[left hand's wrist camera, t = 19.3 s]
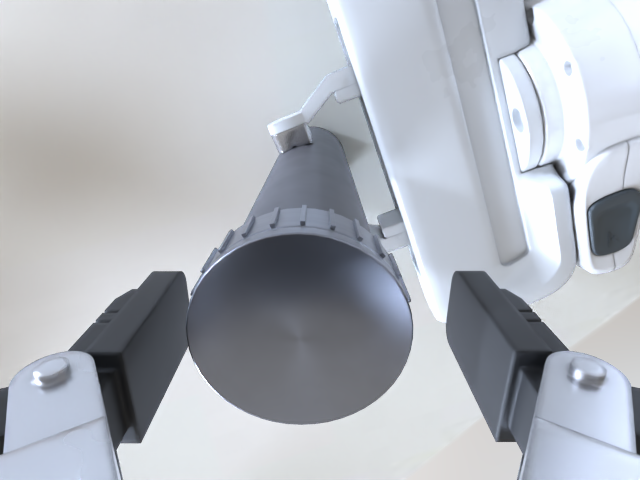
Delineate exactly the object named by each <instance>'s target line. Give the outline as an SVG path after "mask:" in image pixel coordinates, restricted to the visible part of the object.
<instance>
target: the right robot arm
mask: <svg viewBox="0 0 640 480" xmlns="http://www.w3.org/2000/svg"><path fill="white" fill-rule="evenodd" d="M327 3H328V6H329V9H330V12H331V15H332V18H333V21H334V24H335V27H336V30H337V33H338V36H339V39H340V42H341V46H342V49H343V52H344V55H345V58H346V61H347V64H348V66H346V67H344V68H342V69H339V70H337V71H335V72H332V73H330V74H327V75H326V76H325V77H324V79H323V80H322V81H321V82H320V84H319V85H318V86H317V88H316V89H315V90H314V92H313V93H312V94H311V96H310V97H309V98H308V100H307V101H306V102H305V104H304V105H303V106H302V108H301V109H300V111H298V112H295V113H293V114H290V115H288V116H285V117H283V118H280V119H278V120H276V121H274V122H272V123H270V124H269V125H267V127H268V129H269V132H270V134H271V136H272V139H273V141H274V143H275V145H276V148H277V150H278V152H279V154H282V153H285V152H288V151H290V150H291V149H292V148H293V146H298V147H300V146H303V145H306V144H308V143H311V142H312V138H313V137H312V134H311V131H310V128H309V126H308V124H309V122H310V121H311V120H312V118H313V117H314V116H315V115H316V113H317V112H318V111H319V109H320V108H321V107H322V106H323V104H324V103H325V102H326V101H327V99H328V98H329V97H330V95H331V94H332V93H333V94H334V97H335V100H336V101H337V102H338V103H340V104H341V103H343V102H346V101H348V100H351V99H354V98H356V97H359V100H360V103H361V106H362V109H363V112H364V115H365V118H366V121H367V124H368V127H369V130H370V133H371V136H372V139H373V142H374V145H375V148H376V151H377V154H378V157H379V160H380V163H381V166H382V169H383V172H384V175H385V178H386V181H387V184H388V187H389V190H390V193H391V196H392V199H393V202H394V205H395V208H396V209H394V210H392V211H389V212H386V213H384V214H381V215H378V217H377V219H378V222H379V224H380V225H379V226H378V225H370V224H368V226H369V229H370V232H371V234H372V235H373V236H374V235H375V234H377V235H378V236H379V238H380V241H381V244H382V246H383V247H384V249H385V250H386V251H387V252H390V251H393V250H396V249H399V248H402V247H405V246H408V248H409V251H410V254H411V257H412V260H413V263H414V266H415V269H416V272H417V275H418V278H419V281H420V284H421V287H422V290H423V293H424V295H425V298H426V300H427V302H428V304H429V307H430V309H431V311H432V312H433V314H434V316H435V318H436V319H437V320H438V321H441V322H444V323H446V318H447V311H448V303H449V296H450V288H451V281H452V276H453V274H454V272H455V271H485V272H486V273H487V274H488V275H489V276H490V278H491V279H492V280H493V281H494V282H495V284H496V285H497V286H498V287H499V288H500V289H507V290H508V291H510V292H512V293H513V294H515V295H517V296H519V297H520V298H522V299H523V300H524V301H525V302H526V303H527V305H529V304H531V303H534V302H536V301H538V300H541V299H543V298H545V297H547V296H549V295H551V294H552V293H554V292H555V291H557V290H558V289H560V288H561V287H562V286H563V285H564V284H565V283H566V282H567V281H568V280H569V278H570V277H571V275H572V274H573V272H574V269H575V266H576V265H577V266H579V267H581V268H583V269H585V270H586V271H588V272H590V273H593V274H603V273H607V272H611V271H614V270H617V269H619V268H621V267H623V266H624V265H626V264H627V263H628V262H629V260H630V259H631V257H632V255H633V252H634V249H635V245H636V241H637V237H638V233H639V229H640V0H327Z"/></svg>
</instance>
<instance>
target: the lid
mask: <svg viewBox="0 0 640 480" xmlns="http://www.w3.org/2000/svg"><path fill="white" fill-rule="evenodd" d="M201 272H202V274H201V276H200V278H199V280H198V281H197V283H196V285H195V286H194V288H193V290H192V291H191V295H192V297H191V299H190V303H189V307H188V311H187V319H186V335H187V341H188V346H189V351H190V353H191V356H192V359H193V361H194V363H195V365H196V367H197V369H198V371H199V372H200V374H201V375H202V377H203V378H204V379H205V381H206V382H207V384H208V385H209V386H210V387H211V388H212V389H213V390H214V391H215V392H216V393H217V394H218V395H220V396H221V397H222V398H223V399H225V400H226V401H227V402H229V403H230V404H232V405H233V406H235V407H236V408H238V409H240V410H242V411H244V412H246V413H248V414H251V415H253V416H256V417H259V418H261V419H265V420H269V421H273V422H278V423H285V424H299V425H304V424H318V423H324V422H330V421H334V420H337V419H341V418H344V417H346V416H349V415H352V414H354V413H356V412H358V411H360V410H362V409H364V408H366V407H367V406H369V405H370V404H372V403H373V402H375V401H376V400H377V399H378V398H380V397H381V396H382V395H383V394H384V393H385V392H386V391H387V390H388V389H389V388H390V387H391V386H392V385H393V384H394V382H395V381H396V379H397V378H398V377H399V375H400V374H401V372H402V370H403V368H404V366H405V364H406V362H407V359H408V356H409V353H410V350H411V345H412V339H413V321H412V313H411V309H410V306H409V303H408V302H411V299H410V296H409V294H408V291H407V289H406V286H405V284H404V281H403V279H402V276H401V273H400V271H399V269H398V266H397V264H396V261H395V259H394V257H393V255H392V253H390V254H389V255H388V253H387V252H386V250H385V249H384V247H383V246H382V244H381V241H380V238H379V236H378V235H377V234H375V235H374V236H373V235H372V234H371V233H369V232H368V231H367V230H366V229H365V228H363V227H362V226H360V224H359V221H358V220H357V219H354V220H353V221H352V220H350V219H348V218H346V217H344V216H341V215H338V214H335V213H334V210H333V209H329V211H324V210H319V209H311V208H307V205H302V208H290V209H283V210H280V208H279V207H276V208H275V209H274V211H273V212H270V213H267V214H264V215H261V216H259V217H257V218H255V217H254V215H253V216H251V217H250V218H249V220H248V222H247V223H245V224H244V225H242V226H241V227H239V228H238V229H237V230H235V231H233V230H232V229H231V230H230V231H229V232H228V234H227V236H226V237H225V239H224V241H223V242H222V244H221V246H220V247H219V249H217V248H214V250H213V252H212V253H211V255H210V256H209V258H208V260H207V261H206V263H205V265H204V266H203V268H202V270H201Z"/></svg>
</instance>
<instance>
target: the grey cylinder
mask: <svg viewBox="0 0 640 480" xmlns="http://www.w3.org/2000/svg"><path fill="white" fill-rule="evenodd" d="M309 128H310V131H311V134H312V137H313V138H312V142H311V143H308V144H306V145H303V146H300V147H298V146H293V148H292V149H291V150H290V151H288V152H285V153H282V154H279V156H278V158H277V160H276V162H275V164H274V166H273V168H272V170H271V172H270V174H269V176H268V178H267V180H266V182H265V184H264V186H263V188H262V189H261V191H260V193H259V195H258V197H257V199H256V201H255V203H254V205H253V207H252V209H251V211H250V213H249V215H248V217H247V219H246V221H245V223H247V222H248V220H249V218H250V217H251V216H253V215H254V217H255V218H257V217H259V216H261V215H264V214H267V213H270V212H273V211H274V209H275V208H276V207H279V208H280V210H283V209H290V208H302V205H307V208H311V209H319V210H324V211H329V209H333V210H334V213H335V214H338V215H341V216H344V217H346V218H348V219H350V220H352V221H353V220H354V219H357V220H358V221H359V224H360V226H362V227H363V228H365V229H366V230H367V231H368V232H369V233H371V232H370V229H369V226H368V223H367V220H366V217H365V214H364V211H363V208H362V205H361V202H360V199H359V195H358V192H357V189H356V186H355V183H354V180H353V177H352V174H351V171H350V168H349V165H348V162H347V159H346V156H345V153H344V150H343V147H342V145H341V143H340V141H339V140H338V139H337V138H336V136H335V135H333V134H332V133H331V132H329V131H327V130H325V129H323V128H319V127H309ZM245 223H244V224H245Z"/></svg>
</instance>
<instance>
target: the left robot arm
mask: <svg viewBox="0 0 640 480" xmlns="http://www.w3.org/2000/svg"><path fill="white" fill-rule="evenodd" d="M188 307H189V298H188V290H187V283H186V278H185V275H184V273H183V272H182V271H154V272H152V273H151V274H150V275H149V276H148V278H147V279H146V280H145V281H144V282H143V283H142V285H141V286H140V287H139V288H138V289H132V290H130V291H128V292H127V293H125V294H123V295H122V296H120V297H118V298H116V299H115V300H114V301H113V302H112V303H111V304H110V306H109V307H108V308H107V309H106V310H105V313H102V314H101V315H100V316H99V318H98V319H97V320H96V323H93V324H92V325H91V326H90V327H89V328H88V329H87V331H86V332H85V333H84V334H83V335H82V336H81V337H80V338H79V339H78V340H77V341H76V343H75V344H74V345H73V346H72V347H71V348H70V349H69V350H68V351H66V352H60V353H56V354H52V355H49V356H46V357H43V358H41V359H38V360H36V361H34V362H32V363H31V364H29V365H27V366H26V367H24V368H23V369H22V370H20V371H19V372H18V373H17V374H16V375H15V376H14V377H13V379H12V380H11V382H10V384H9V387H6V388H2V389H0V480H123V477H122V472H121V468H120V463H119V459H118V455H117V451H116V450H117V448H118V446H119V444H120V443H141V442H142V440H143V438H144V436H145V434H146V432H147V429H148V427H149V425H150V423H151V421H152V419H153V417H154V415H155V413H156V411H157V409H158V407H159V405H160V403H161V401H162V399H163V397H164V395H165V393H166V391H167V389H168V386H169V384H170V382H171V380H172V378H173V376H174V374H175V372H176V370H177V368H178V366H179V364H180V362H181V360H182V358H183V356H184V354H185V352H186V350H187V348H188V341H187V335H186V319H187V311H188ZM446 334H447V339H448V343H449V345H450V347H451V349H452V351H453V354H454V356H455V358H456V360H457V362H458V364H459V366H460V368H461V370H462V372H463V374H464V376H465V378H466V381H467V383H468V385H469V387H470V389H471V391H472V393H473V395H474V397H475V399H476V401H477V403H478V405H479V408H480V410H481V412H482V414H483V416H484V418H485V420H486V422H487V424H488V426H489V428H490V430H491V432H492V435H493V437H494V439H495V441H496V442H517V444H518V446H519V447H520V449H521V451H522V453H523V455H522V459H521V463H520V468H519V472H518V477H517V480H640V388H635V387H631V384H630V382H629V380H628V379H627V378H626V376H625V375H624V374H623V373H622V372H621V371H620V370H618V369H617V368H616V367H614V366H613V365H611V364H609V363H608V362H606V361H604V360H602V359H599V358H597V357H594V356H591V355H588V354H584V353H580V352H574V351H569V350H568V349H567V348H566V346H565V345H564V344H563V343H562V342H561V341H560V340H559V339H558V338H557V336H556V335H555V334H554V333H553V332H552V331H551V330H550V329H549V328H548V327H547V325H546V324H545V323H544V322H541V319H540V318H539V317H538V316H537V314H536V313H535V312H532V309H531V308H530V307H529V306H528V305H527V303H526V302H525V301H524V300H523V299H522V298H520V297H519V296H517V295H515V294H513V293H512V292H510V291H508V290H507V289H500V288H499V287H498V286H497V285H496V284H495V282H494V281H493V280H492V279H491V278H490V276H489V275H488V274H487V273H486V272H485V271H455V272H454V274H453V276H452V281H451V288H450V296H449V303H448V311H447V318H446Z"/></svg>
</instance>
